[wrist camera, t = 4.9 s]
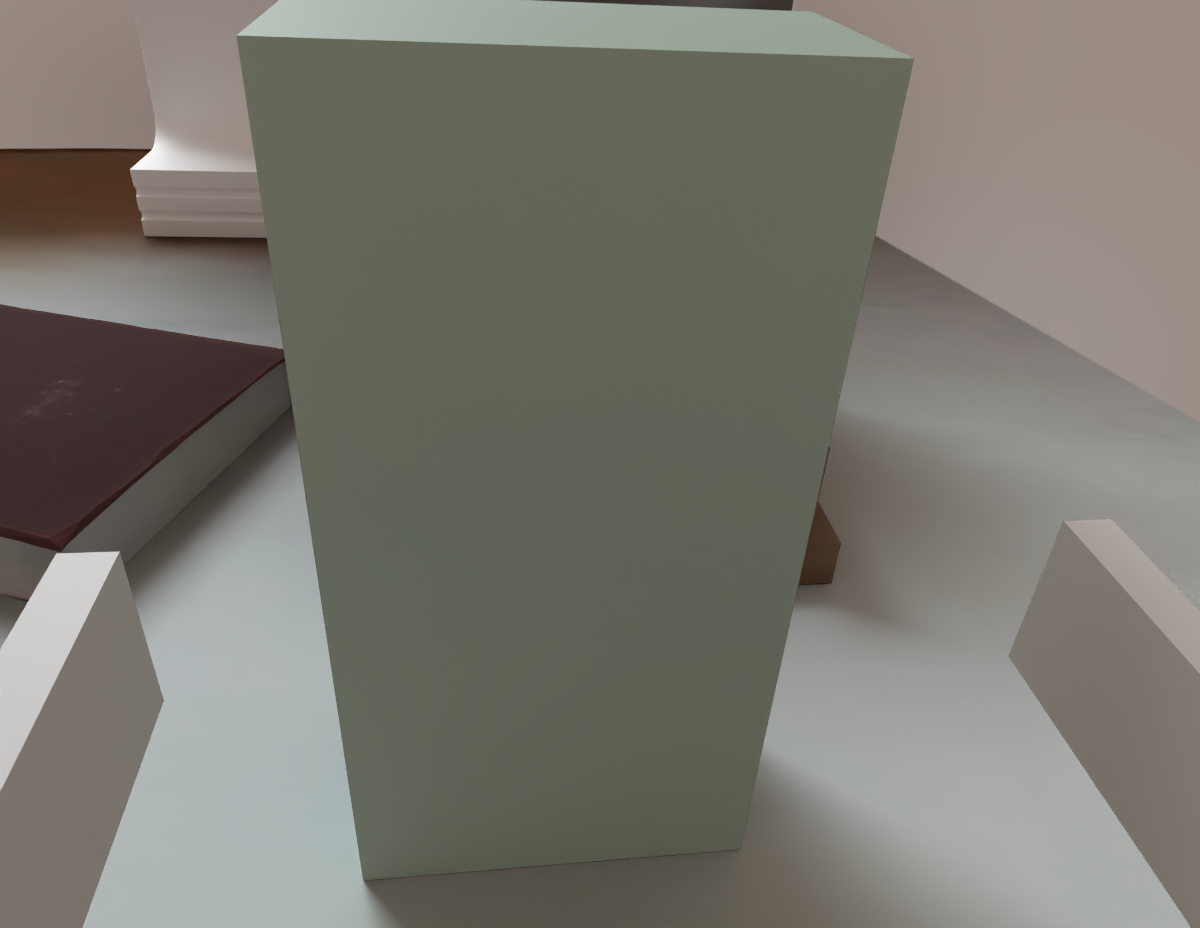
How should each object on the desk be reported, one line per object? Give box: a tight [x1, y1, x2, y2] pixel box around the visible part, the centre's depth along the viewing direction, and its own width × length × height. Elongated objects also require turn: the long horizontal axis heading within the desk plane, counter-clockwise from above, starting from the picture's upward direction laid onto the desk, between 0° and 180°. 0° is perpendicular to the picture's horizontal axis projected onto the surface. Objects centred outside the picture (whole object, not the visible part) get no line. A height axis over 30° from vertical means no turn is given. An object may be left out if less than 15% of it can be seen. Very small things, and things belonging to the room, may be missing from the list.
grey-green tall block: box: [236, 0, 914, 880], centre depth 17 cm, size 8×4×16 cm, turn 97°
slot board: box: [535, 0, 841, 584], centre depth 27 cm, size 14×13×18 cm
